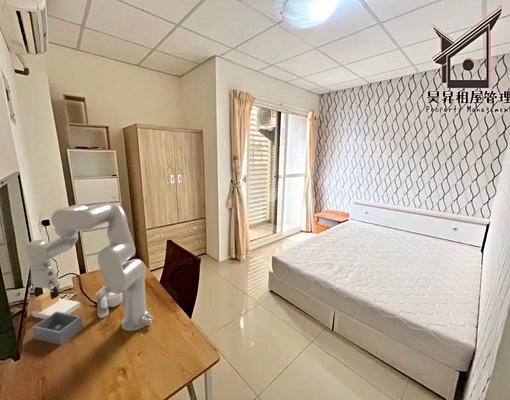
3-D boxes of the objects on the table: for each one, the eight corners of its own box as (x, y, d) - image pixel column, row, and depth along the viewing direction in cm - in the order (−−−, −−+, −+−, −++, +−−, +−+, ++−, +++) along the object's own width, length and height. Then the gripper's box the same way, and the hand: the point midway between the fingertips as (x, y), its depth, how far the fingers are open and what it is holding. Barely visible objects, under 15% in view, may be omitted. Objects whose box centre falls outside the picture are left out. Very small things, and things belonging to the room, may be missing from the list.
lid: (80, 306, 120) (78, 291, 118) (58, 321, 109) (55, 306, 107) (56, 301, 123) (54, 287, 121) (32, 316, 112) (29, 301, 110)
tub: (83, 327, 106) (81, 316, 105) (61, 345, 96) (59, 333, 95) (58, 322, 109) (56, 311, 107) (34, 339, 99) (32, 327, 98)
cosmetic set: (108, 320, 111) (104, 286, 107) (89, 320, 111) (84, 285, 107) (134, 289, 135) (131, 260, 131) (118, 289, 135) (115, 260, 131)
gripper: (63, 263, 114) (68, 294, 117) (35, 259, 117) (41, 289, 120) (46, 271, 106) (53, 303, 110) (17, 267, 110) (25, 298, 113)
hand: (47, 296), depth 115 cm, fingers open, 9 cm apart
